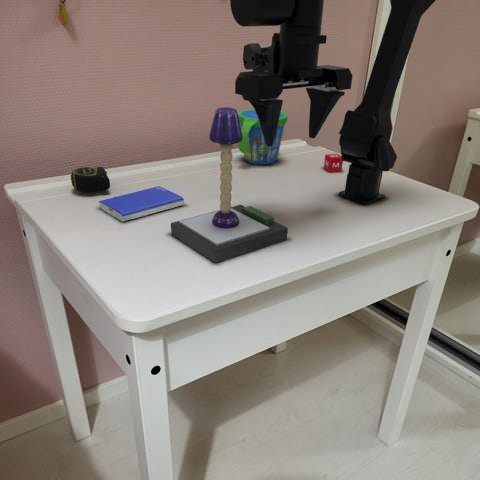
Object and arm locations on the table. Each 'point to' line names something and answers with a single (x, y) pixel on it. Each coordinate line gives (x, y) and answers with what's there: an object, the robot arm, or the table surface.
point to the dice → (333, 163)
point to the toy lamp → (225, 161)
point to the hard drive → (141, 203)
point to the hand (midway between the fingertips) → (291, 141)
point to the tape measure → (90, 179)
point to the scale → (229, 233)
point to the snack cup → (258, 138)
